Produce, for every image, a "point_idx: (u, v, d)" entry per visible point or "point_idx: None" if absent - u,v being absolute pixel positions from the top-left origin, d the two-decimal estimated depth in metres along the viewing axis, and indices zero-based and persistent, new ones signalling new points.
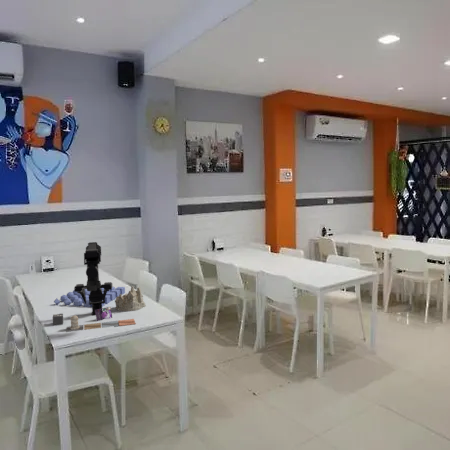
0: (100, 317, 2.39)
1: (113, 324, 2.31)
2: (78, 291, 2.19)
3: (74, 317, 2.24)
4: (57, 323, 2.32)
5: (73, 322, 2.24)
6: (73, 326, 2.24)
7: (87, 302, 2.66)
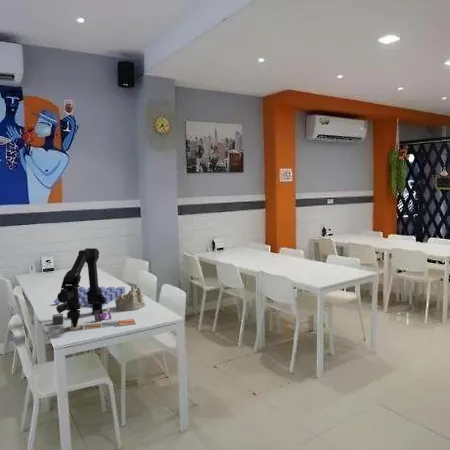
0: (99, 318, 2.37)
1: (113, 324, 2.31)
2: None
3: None
4: (57, 323, 2.32)
5: None
6: None
7: (87, 302, 2.66)
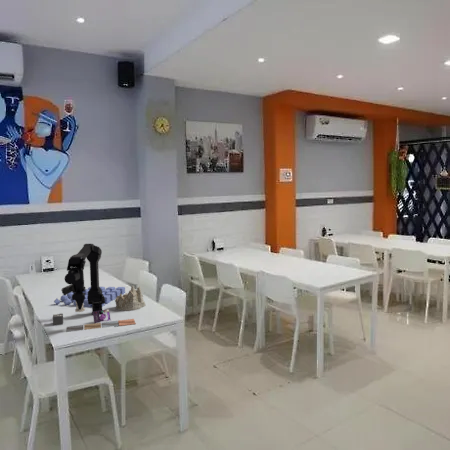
0: (98, 319, 2.35)
1: (113, 324, 2.31)
2: None
3: None
4: (57, 323, 2.32)
5: None
6: None
7: (87, 302, 2.66)
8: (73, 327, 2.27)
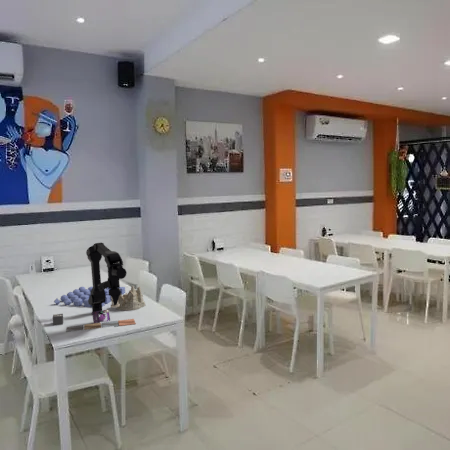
0: (97, 320, 2.34)
1: (113, 324, 2.31)
2: None
3: None
4: (57, 323, 2.32)
5: None
6: (113, 304, 2.29)
7: (87, 302, 2.66)
8: (73, 327, 2.27)
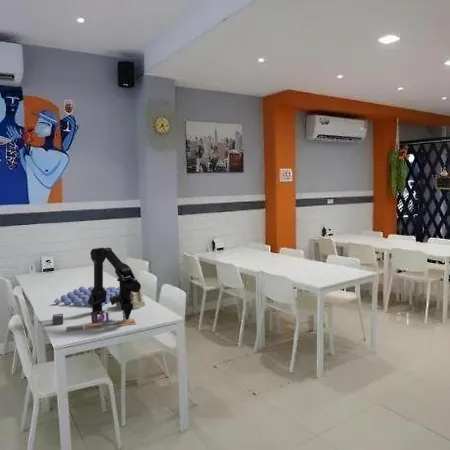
0: (96, 320, 2.34)
1: (113, 324, 2.31)
2: (119, 301, 2.39)
3: None
4: (57, 323, 2.32)
5: None
6: (125, 320, 2.32)
7: (87, 302, 2.66)
8: (73, 327, 2.27)
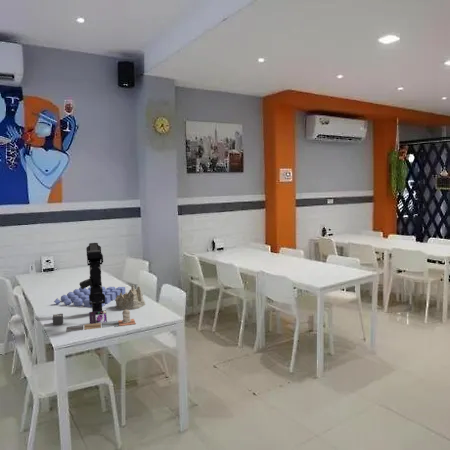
0: (94, 320, 2.34)
1: (113, 324, 2.31)
2: None
3: (126, 311, 2.32)
4: (57, 323, 2.32)
5: (125, 316, 2.32)
6: (125, 320, 2.32)
7: (87, 302, 2.66)
8: (73, 327, 2.27)
